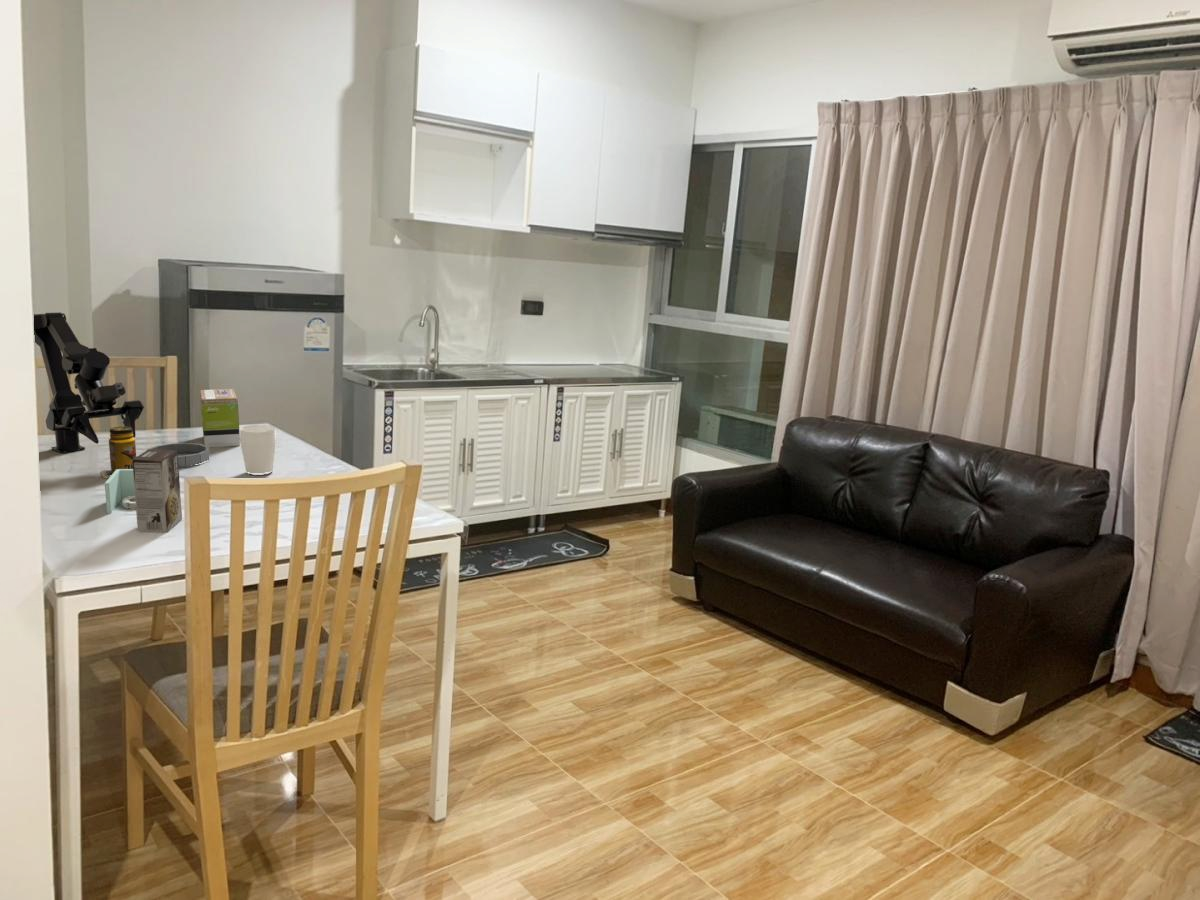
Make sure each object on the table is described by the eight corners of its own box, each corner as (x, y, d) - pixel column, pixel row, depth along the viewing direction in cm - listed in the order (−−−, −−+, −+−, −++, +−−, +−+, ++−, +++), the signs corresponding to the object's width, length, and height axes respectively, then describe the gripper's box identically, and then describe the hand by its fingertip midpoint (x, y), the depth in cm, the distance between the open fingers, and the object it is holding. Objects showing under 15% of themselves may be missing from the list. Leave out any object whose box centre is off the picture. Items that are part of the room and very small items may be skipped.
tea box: (202, 436, 279) (199, 388, 275) (237, 435, 283) (235, 388, 280) (203, 448, 266) (201, 398, 262) (240, 446, 270) (238, 397, 266)
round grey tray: (136, 459, 250) (135, 449, 249) (191, 450, 262) (190, 440, 261) (165, 470, 241) (164, 459, 240) (220, 461, 253) (220, 450, 252)
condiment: (140, 475, 236) (137, 430, 233) (103, 478, 231) (99, 432, 228) (136, 468, 242) (133, 424, 239) (100, 471, 237) (96, 426, 234)
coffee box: (153, 519, 203) (148, 448, 199) (183, 519, 204) (178, 449, 200) (136, 532, 194) (130, 458, 191) (167, 533, 195) (162, 459, 191)
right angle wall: (107, 515, 206) (104, 483, 204) (118, 499, 217) (116, 469, 215) (165, 513, 209) (163, 481, 207) (173, 498, 220) (172, 468, 218)
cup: (284, 471, 246) (283, 427, 243) (262, 478, 238) (260, 434, 235) (257, 466, 249) (255, 423, 246) (233, 474, 241) (231, 429, 238)
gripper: (62, 376, 227) (86, 426, 223) (137, 369, 241) (161, 417, 237) (51, 402, 233) (74, 452, 229) (125, 395, 248) (148, 441, 244)
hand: (116, 440), depth 235 cm, fingers open, 9 cm apart
